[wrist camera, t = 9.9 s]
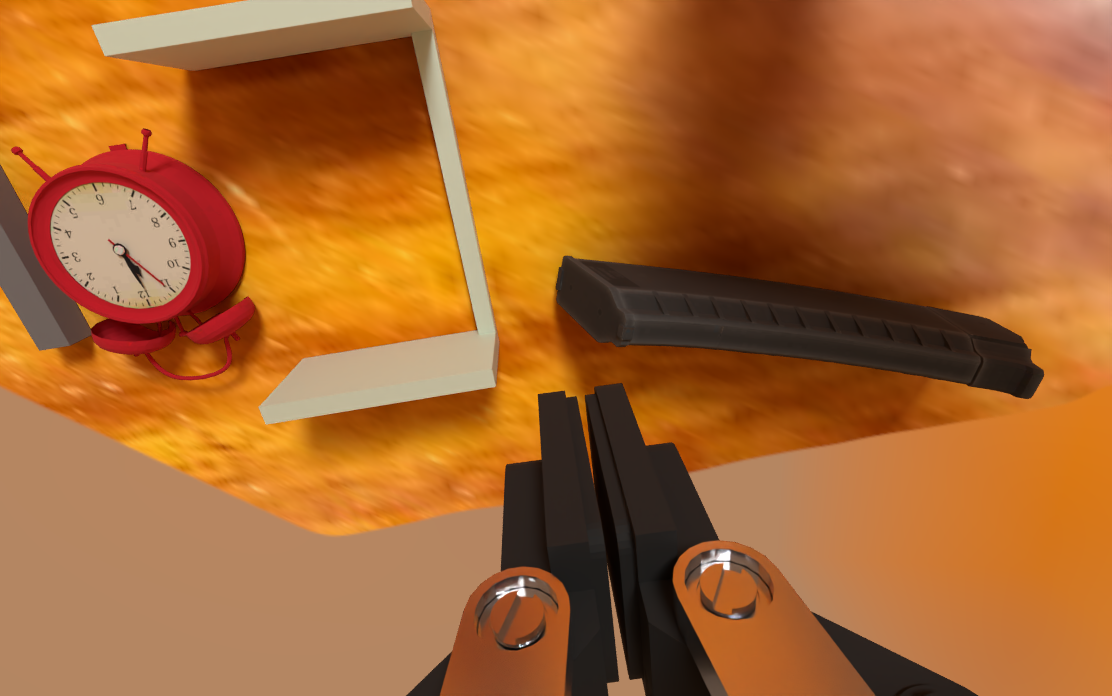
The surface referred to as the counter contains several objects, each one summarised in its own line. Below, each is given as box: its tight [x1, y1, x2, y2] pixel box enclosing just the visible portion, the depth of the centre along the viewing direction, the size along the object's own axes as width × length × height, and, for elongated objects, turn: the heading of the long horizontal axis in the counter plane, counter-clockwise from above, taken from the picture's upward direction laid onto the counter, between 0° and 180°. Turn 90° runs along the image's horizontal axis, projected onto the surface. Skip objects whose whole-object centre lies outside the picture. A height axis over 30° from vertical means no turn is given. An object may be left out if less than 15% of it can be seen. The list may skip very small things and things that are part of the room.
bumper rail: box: [0, 165, 92, 351], centre depth 32 cm, size 14×2×2 cm, turn 8°
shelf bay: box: [92, 0, 499, 424], centre depth 30 cm, size 21×14×7 cm
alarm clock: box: [11, 129, 255, 380], centre depth 32 cm, size 10×6×15 cm
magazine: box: [556, 256, 1044, 399], centre depth 33 cm, size 17×3×30 cm
